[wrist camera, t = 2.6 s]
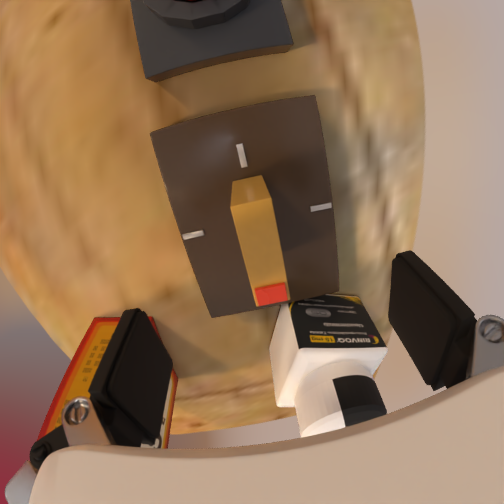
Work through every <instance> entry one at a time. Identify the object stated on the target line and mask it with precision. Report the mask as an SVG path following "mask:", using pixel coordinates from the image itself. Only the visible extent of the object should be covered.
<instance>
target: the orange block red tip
mask: <svg viewBox="0 0 504 504" xmlns="http://www.w3.org/2000/svg"><path fill="white" fill-rule="evenodd" d="M230 208H231V212H232V216H233V220H234V224H235V228H236V231H237V235H238V239H239V243H240V247H241V251H242V254H243V258H244V262H245V266H246V270H247V273H248V277H249V281H250V285H251V288H252V292H253V296H254V300H255V303H256V306H257V307H258V306H263V305H268V304H273V303H278V302H282V301H287V300H290V294H289V288H288V282H287V277H286V271H285V266H284V260H283V255H282V249H281V244H280V239H279V234H278V228H277V223H276V218H275V213H274V208H273V203H272V198H271V196H270V193H269V191H268V189H267V186H266V184H265V181H264V179H263V177H262V175H260V176H255V177H250V178H246V179H241V180H237V181H233V183H232V194H231V206H230Z"/></svg>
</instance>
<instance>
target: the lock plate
mask: <svg viewBox="0 0 504 504" xmlns="http://www.w3.org/2000/svg"><path fill="white" fill-rule="evenodd" d="M150 136H151V140H152V144H153V147H154V151H155V154H156V158H157V161H158V165H159V168H160V171H161V175H162V178H163V181H164V185H165V188H166V191H167V194H168V198H169V201H170V204H171V207H172V210H173V213H174V216H175V219H176V222H177V225H178V228H179V231H180V234H181V237H182V240H183V243H184V246H185V249H186V251H187V254H188V257H189V260H190V263H191V265H192V268H193V271H194V274H195V276H196V279H197V282H198V284H199V287H200V290H201V292H202V295H203V297H204V300H205V303H206V305H207V308H208V310H209V313H210V315H211V317H212V318H214V317H220V316H226V315H231V314H236V313H242V312H247V311H252V310H257V309H262V308H267V307H272V306H277V305H281V304H286V303H291V302H295V301H300V300H304V299H309V298H313V297H317V296H322V295H326V294H330V293H334V292H338V291H339V273H338V258H337V244H336V233H335V222H334V212H333V203H332V195H331V187H330V179H329V172H328V165H327V158H326V152H325V145H324V139H323V133H322V128H321V122H320V117H319V112H318V107H317V102H316V97H315V95H312V96H304V97H296V98H289V99H282V100H276V101H270V102H265V103H259V104H254V105H249V106H244V107H240V108H235V109H231V110H226V111H222V112H218V113H214V114H210V115H206V116H202V117H199V118H195V119H192V120H188V121H185V122H181V123H178V124H175V125H172V126H169V127H165V128H162V129H159V130H156V131H153V132H151V133H150ZM260 175H262V177H263V179H264V181H265V184H266V186H267V189H268V191H269V193H270V196H271V198H272V203H273V208H274V213H275V218H276V223H277V228H278V234H279V239H280V244H281V249H282V255H283V260H284V266H285V271H286V277H287V282H288V288H289V294H290V300H287V301H282V302H278V303H273V304H268V305H263V306H258V307H257V306H256V303H255V300H254V296H253V292H252V288H251V285H250V281H249V277H248V273H247V270H246V266H245V262H244V258H243V254H242V251H241V247H240V243H239V239H238V235H237V231H236V228H235V224H234V220H233V216H232V212H231V208H230V206H231V194H232V183H233V181H237V180H241V179H246V178H250V177H255V176H260Z"/></svg>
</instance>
